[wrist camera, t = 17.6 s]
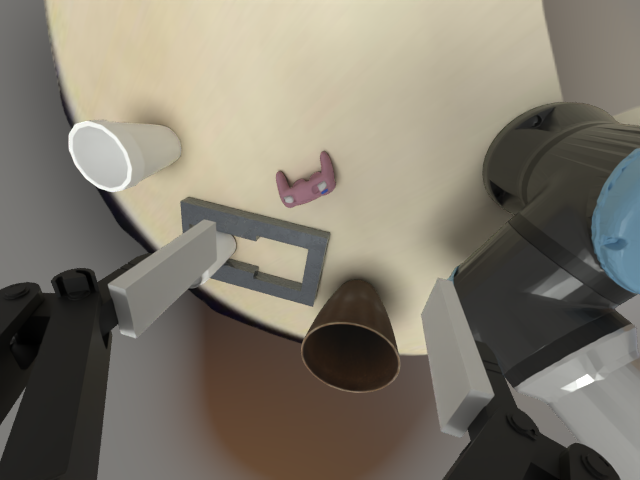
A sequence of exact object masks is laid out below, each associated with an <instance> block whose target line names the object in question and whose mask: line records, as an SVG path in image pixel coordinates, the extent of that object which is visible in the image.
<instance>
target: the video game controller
mask: <svg viewBox="0 0 640 480" xmlns="http://www.w3.org/2000/svg"><path fill="white" fill-rule="evenodd" d="M320 161H321V173H320V172H316V173H314V174H313V175H311V177H310V179H309V181H305V180H304V179H300V180H297V181H296V182H295V183H294V185H293V186H292V188H290V187H289V186H288V183H287V180H286V178H285V176H284V175H283V173H282V172H280V171H278V172H277V174H276V182H277V187H278V191H279V195H280V198H281V200H282V202H283V203H284V205H285V206H286V207H288V208H292V207H294V206H297V205H301V204H305V203H308V202H310V201H312V200H314V199H316V198H318V197H320V196H322V195H327V194H329V193H330V192H332V191H333V190H334V188H335V186H336V182H335V180H334V171H333V167H332V163H331V160H330V158H329V156H328V154H327V153H326V152H324V151H323V152H321V155H320Z"/></svg>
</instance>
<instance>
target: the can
mask: <svg viewBox="0 0 640 480" xmlns="http://www.w3.org/2000/svg"><path fill="white" fill-rule="evenodd" d="M216 243H217V261H216V262H215V263H214V264H213V265H212V266H211V267H210V268H209V269H208V270H206V271H205V272H204V273H203V274H202V275H201V276H200V277H199V278H198V279H197V280H196V281H195V282H194V283H193V284H192V285H191V286H190V287H189V288H196V287H198V286H199V285H201V284H203V283H205V282H206V281H207V280H208V279H209V278H210V277H211V276H212V275H213V274H214V273H215V272H216V271H217V270H218V269H219V268H220V267H221V266H222V265H223V264H224V263H225V262H226V261H227V260H228V259H229V258H230V257H231V255H232V254H233V253H234V252H235V249H236V242H235V239H234V237H233V236H232V235H230V234H226V233H223V232H219V231H216Z"/></svg>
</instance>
